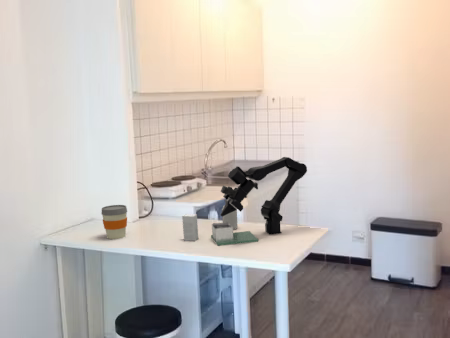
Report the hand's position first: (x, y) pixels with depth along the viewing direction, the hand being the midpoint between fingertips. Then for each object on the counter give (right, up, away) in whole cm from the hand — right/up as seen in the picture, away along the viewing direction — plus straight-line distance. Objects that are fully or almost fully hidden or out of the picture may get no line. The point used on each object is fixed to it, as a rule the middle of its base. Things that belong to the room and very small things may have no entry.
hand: (221, 215), depth 242 cm
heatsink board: (+6, -11, +3) cm, 13 cm away
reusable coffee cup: (-53, -12, +18) cm, 57 cm away
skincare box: (-14, -12, +6) cm, 20 cm away
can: (+5, -9, +23) cm, 25 cm away
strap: (0, -4, 0) cm, 4 cm away
